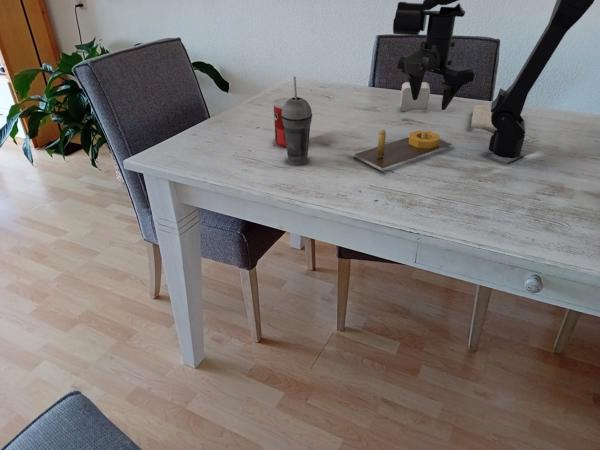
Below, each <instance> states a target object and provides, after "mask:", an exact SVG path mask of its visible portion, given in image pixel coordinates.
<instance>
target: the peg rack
mask: <svg viewBox="0 0 600 450" xmlns="http://www.w3.org/2000/svg"><path fill="white" fill-rule="evenodd" d="M386 137H387V132H386V130H384V129H381V130H379V132H378V139H377V141H378V142H377V146H376V147H372V148H369V149H366V150H363V151H360V152H357V153H354V155H355V156H354V157H353V159H354V160H355V161H358V162H360V163H362V164H364V165H366V166H368V167H369V168H371V169H374V170H375V171H378V172H379V173H381V174H384V172H385V171H384V170H381V169H386V168H389V167H392V166H394V165H397V164H401V163H403V162H406V161H409V160H411V159H414V158H417V157H420V156H423V155H426V154H428V153H432V152H434V151H438V150H440V149H442V148H446V147H448V146H452V143H450V142H447V141H444V140H442V139H440V142H439V146H436V147H434V148H417V147H415V146H413V145H410V144H409V136H408V137H407V136H406V137H405V138H402V139H397V140H395V141H392V142H389V143H386ZM427 138H428V134H427V133H426V132H423V133H422V135H421V139H427ZM356 156H357V157H359V158H357V157H356ZM360 158H361V159H362V160H361V159H360ZM363 160H365V161H363ZM366 161H367V162H369V163H371V164H373V165H374V166H373V165H371V164H369V163H367V162H366ZM375 166H376V167H375ZM377 167H378V168H377ZM379 168H380V169H379Z"/></svg>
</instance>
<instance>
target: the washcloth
mask: <svg viewBox="0 0 600 450" xmlns="http://www.w3.org/2000/svg"><path fill="white" fill-rule="evenodd" d="M491 115H492V112H491V105H490V104H476V105H475V106H474V107H473V110H472V116H471V123H470V129H479V130H482V131H483V130H484V131H487V132H490V133H494V130H497V128H495V127H494V126H493V125H492V122H491Z"/></svg>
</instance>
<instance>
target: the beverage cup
mask: <svg viewBox="0 0 600 450" xmlns="http://www.w3.org/2000/svg"><path fill="white" fill-rule="evenodd" d="M296 78H297V77H296V76H293V93H294V96H293V97H290V98H291V99H289V100H288V101H287V102H286V103H285V104H284V106H283V108H282V114H281V117H282V121H283V125H284V130H285V139H286V147H287V148H286V147H285V148H286V154H287V160H288V163H289V164H290V165H293V166H302V165H305V164H306V163H307V162H308V157H309V156H308V155H309V146H310V131H311V124H312V120H313V111H312V108H311V105H310V104H309V102H308V100H306V99H304V98H303V97H299V96H297V95H298V94H297V79H296Z"/></svg>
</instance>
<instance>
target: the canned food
mask: <svg viewBox="0 0 600 450" xmlns="http://www.w3.org/2000/svg"><path fill="white" fill-rule="evenodd" d="M291 98H292V97H280V98H278V99H275V100H274V101H273V120H274V121H273V122H274V139H275V143H276V144H277V146H279V147H281V148H286V149H287V147H286V139H285V130H284V125H283V121H282V117H281V114H282V108H283V106H284V104H285V103H286V102H287V101H288V100H289V99H291Z"/></svg>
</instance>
